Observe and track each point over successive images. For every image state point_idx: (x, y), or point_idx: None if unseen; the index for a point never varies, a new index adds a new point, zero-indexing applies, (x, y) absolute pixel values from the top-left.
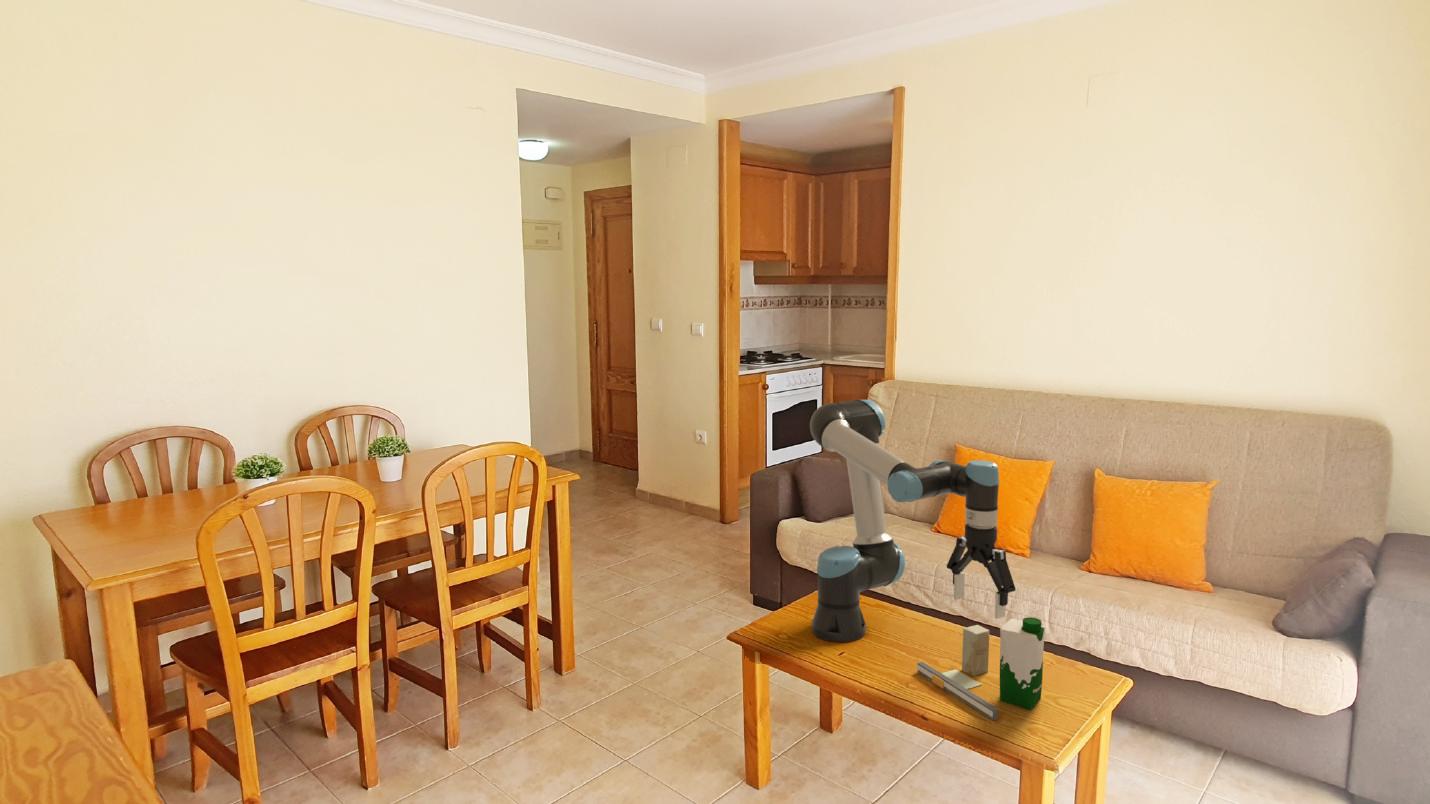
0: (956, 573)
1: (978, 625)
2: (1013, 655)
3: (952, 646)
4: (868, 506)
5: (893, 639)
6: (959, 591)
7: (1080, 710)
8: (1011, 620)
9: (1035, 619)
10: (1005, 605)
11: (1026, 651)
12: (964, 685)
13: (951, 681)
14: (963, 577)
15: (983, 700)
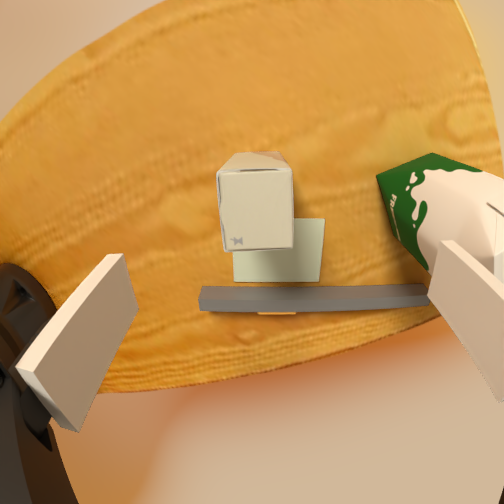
0: (49, 418)
1: (229, 177)
2: None
3: (118, 139)
4: None
5: (57, 244)
6: (113, 315)
7: (485, 131)
8: (499, 275)
9: None
10: (489, 272)
11: None
12: (307, 255)
13: (311, 304)
14: (56, 355)
15: (401, 298)
